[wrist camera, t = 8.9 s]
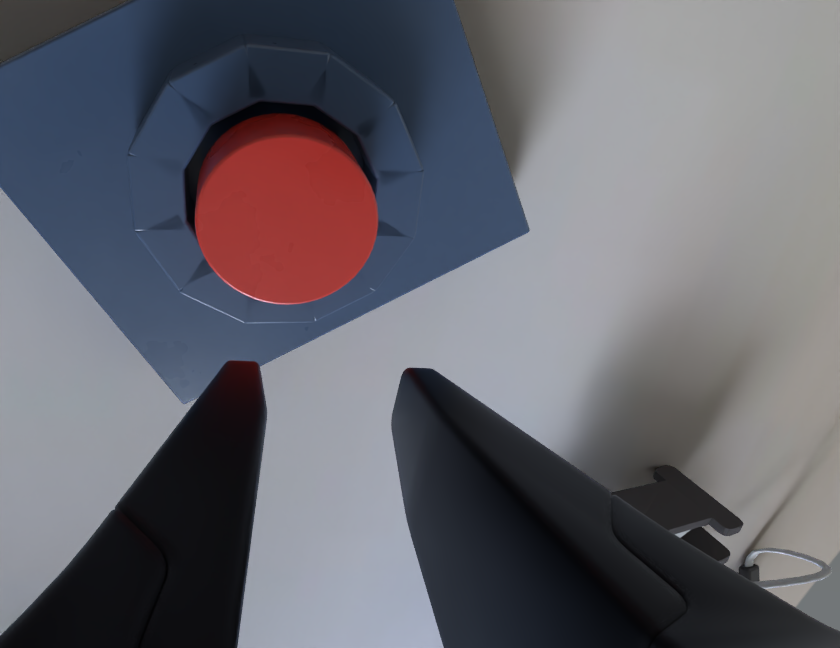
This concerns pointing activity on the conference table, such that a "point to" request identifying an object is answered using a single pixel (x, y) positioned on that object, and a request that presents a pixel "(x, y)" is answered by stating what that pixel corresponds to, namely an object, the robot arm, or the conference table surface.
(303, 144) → the switch button
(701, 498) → the clip-on lamp
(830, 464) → the conference table surface
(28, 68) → the switch block
